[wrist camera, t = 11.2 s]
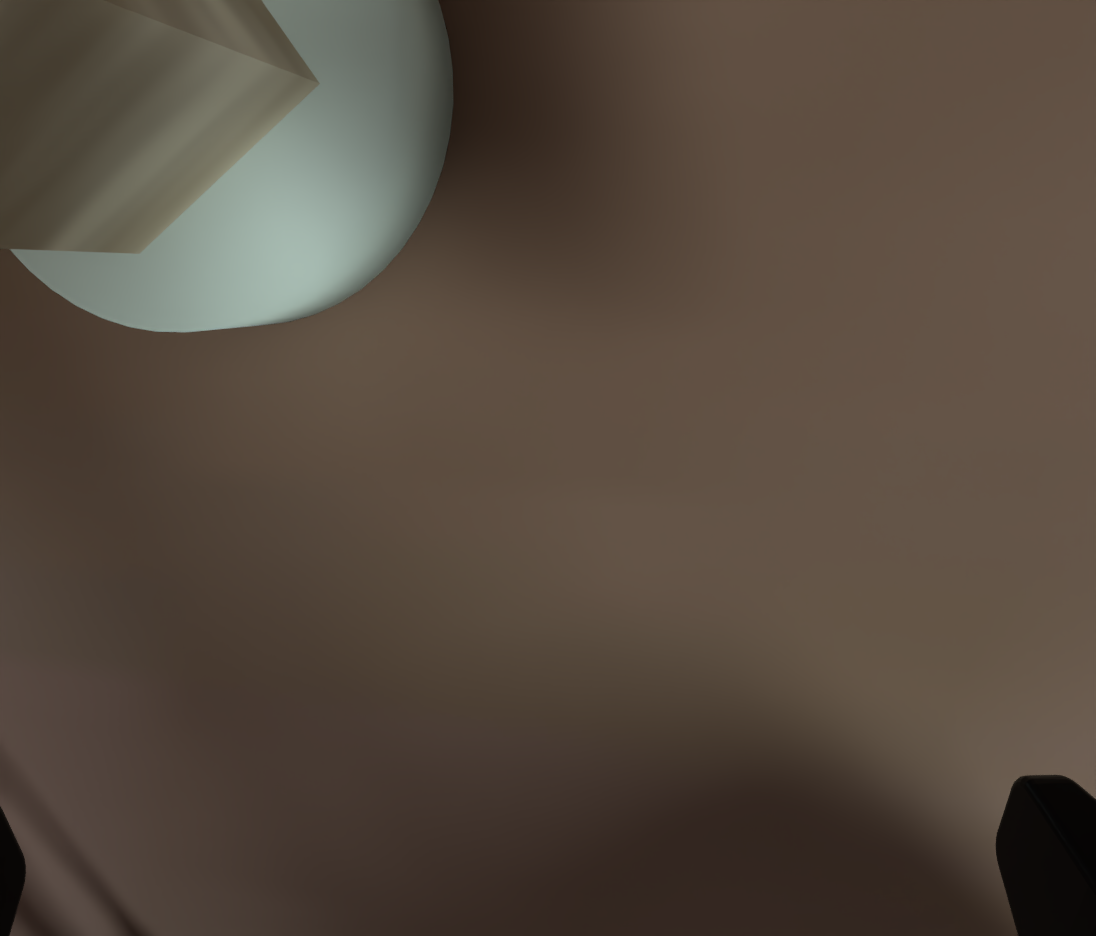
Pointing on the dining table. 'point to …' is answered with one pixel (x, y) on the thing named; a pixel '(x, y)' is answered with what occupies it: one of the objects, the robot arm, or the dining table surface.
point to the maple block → (130, 112)
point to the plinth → (295, 185)
